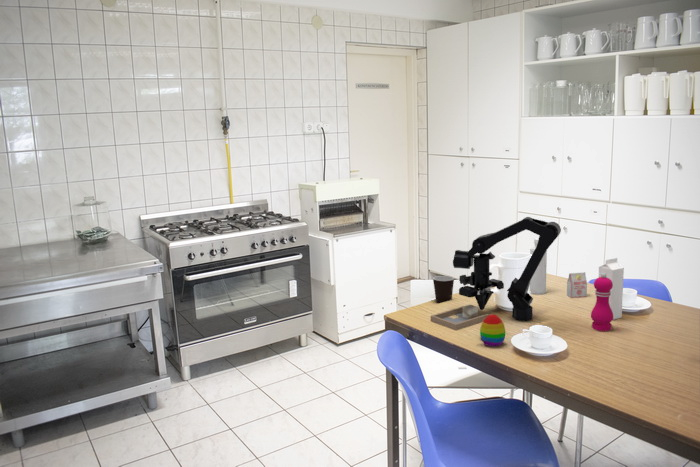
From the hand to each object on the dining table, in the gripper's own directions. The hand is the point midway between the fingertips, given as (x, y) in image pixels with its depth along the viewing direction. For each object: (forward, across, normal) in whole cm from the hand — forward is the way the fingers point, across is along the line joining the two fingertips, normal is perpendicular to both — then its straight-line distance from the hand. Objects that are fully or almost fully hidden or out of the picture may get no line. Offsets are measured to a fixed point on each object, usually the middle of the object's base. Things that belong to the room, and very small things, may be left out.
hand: (481, 309), depth 217 cm
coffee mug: (+3, -5, -25) cm, 25 cm away
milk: (+3, -35, +30) cm, 46 cm away
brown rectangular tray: (+3, +12, 0) cm, 12 cm away
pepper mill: (+3, -22, +36) cm, 42 cm away
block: (+2, +6, 0) cm, 6 cm away
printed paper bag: (+3, -49, +8) cm, 50 cm away
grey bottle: (+3, -42, -6) cm, 43 cm away
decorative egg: (+3, +17, +20) cm, 27 cm away
